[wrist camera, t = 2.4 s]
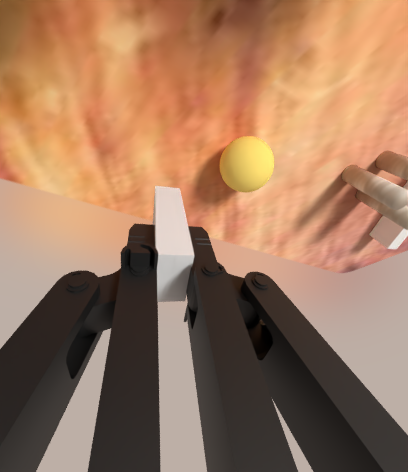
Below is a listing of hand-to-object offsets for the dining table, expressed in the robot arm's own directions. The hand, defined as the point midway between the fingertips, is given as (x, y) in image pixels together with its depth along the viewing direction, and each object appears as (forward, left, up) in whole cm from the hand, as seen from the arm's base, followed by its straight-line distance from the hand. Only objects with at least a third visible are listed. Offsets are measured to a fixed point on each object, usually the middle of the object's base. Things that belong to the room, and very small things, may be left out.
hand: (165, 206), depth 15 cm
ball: (0, +9, -11) cm, 14 cm away
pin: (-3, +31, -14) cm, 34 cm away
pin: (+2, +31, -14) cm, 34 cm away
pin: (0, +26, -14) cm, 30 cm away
